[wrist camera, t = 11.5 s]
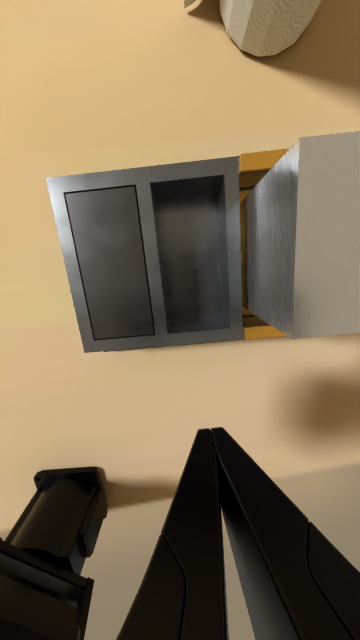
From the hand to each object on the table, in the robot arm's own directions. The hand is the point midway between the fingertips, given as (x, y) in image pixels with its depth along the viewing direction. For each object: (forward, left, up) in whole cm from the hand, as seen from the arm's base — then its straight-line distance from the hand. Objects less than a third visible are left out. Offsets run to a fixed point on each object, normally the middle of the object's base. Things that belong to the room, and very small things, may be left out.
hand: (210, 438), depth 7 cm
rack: (+3, +6, -11) cm, 13 cm away
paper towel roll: (+6, +22, -12) cm, 25 cm away
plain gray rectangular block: (+5, +6, -10) cm, 13 cm away
